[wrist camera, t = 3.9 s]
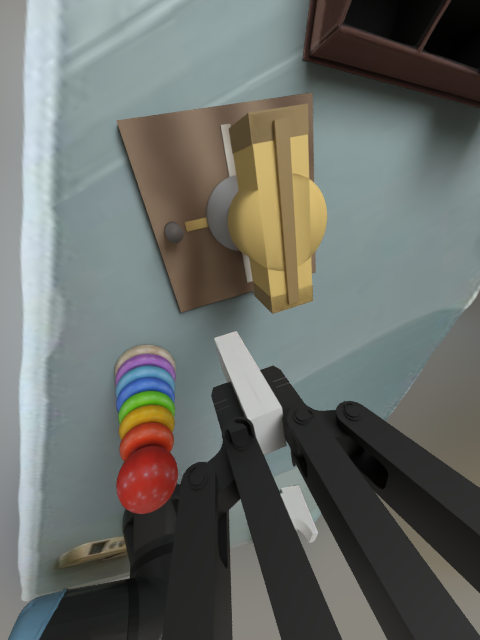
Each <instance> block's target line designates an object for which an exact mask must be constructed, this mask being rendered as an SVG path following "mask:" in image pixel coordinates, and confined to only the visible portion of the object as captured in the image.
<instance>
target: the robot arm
mask: <svg viewBox="0 0 480 640" xmlns="http://www.w3.org/2000/svg"><path fill="white" fill-rule="evenodd" d="M214 340H215V343H216V347H217V351H218V354H219V358H220V362H221V365H222V369H223V372H224V374H225V377H226V380H227V382H228V383H225V384H222V385H219V386H216V387H214V388H213V390H212V395H211V397H212V400H213V403H214V407H215V410H216V414H217V417H218V421H219V424H220V428H221V431H222V438H223V444H222V447H221V449H220V451H219V452H218V453H217V454H216V455H215V456H214V457H213V458H212V459H211V460H210V461H208V462H207V463H206V462H198V463H195V464H193V465H192V466H190V467H189V468H188V469H187V470H186V472H185V473H184V475H183V478H182V481H181V485H176V487H175V489H174V492H173V494H172V495H171V497H170V498H169V499H168V501H167V502H166V503H165V504H164V505H163V506H161V507H160V508H159V509H157V510H155V511H153V512H150V513H146V514H137V513H133V512H131V511H129V510H127V509H126V511H125V513H124V516H123V535H124V540H125V544H126V548H127V552H128V557H129V561H130V579H125V580H120V581H114V582H108V583H103V584H98V585H92V586H86V587H80V588H74V589H68V588H65V589H63V590H62V591H60V592H56V593H52V594H48V595H44V596H40V597H37V598H35V599H33V600H32V601H30V603H28V604H27V605H26V606H25V607H24V609H23V610H22V611H21V613H20V614H19V616H18V618H17V620H16V622H15V625H14V627H13V629H12V631H11V634H10V636H9V638H8V640H232V609H231V573H230V537H229V509H230V508H231V507H232V506H233V505H234V504H235V503H237V502H238V501H239V500H240V499H241V502H242V505H243V509H244V512H245V516H246V519H247V522H248V526H249V529H250V533H251V536H252V540H253V543H254V547H255V550H256V554H257V557H258V560H259V564H260V567H261V571H262V574H263V578H264V581H265V585H266V588H267V592H268V595H269V598H270V602H271V605H272V609H273V612H274V616H275V619H276V623H277V626H278V630H279V633H280V636H281V640H342V638H341V636H340V634H339V632H338V629H337V627H336V624H335V622H334V620H333V617H332V615H331V612H330V610H329V608H328V605H327V603H326V601H325V599H324V596H323V594H322V591H321V589H320V587H319V584H318V582H317V579H316V577H315V575H314V572H313V570H312V568H311V566H310V563H309V561H308V558H307V556H306V554H305V551H304V549H303V547H302V544H301V542H300V539H299V537H298V535H297V532H296V530H295V528H294V525H293V523H292V520H291V518H290V516H289V513H288V511H287V509H286V506H285V504H284V502H283V499H282V497H281V495H280V492H279V490H278V487H277V485H276V483H275V480H274V478H273V476H272V473H271V471H270V469H269V466H268V464H267V462H266V459H265V457H264V455H266V454H268V453H270V452H273V451H275V450H277V449H280V448H282V447H285V446H287V445H286V441H287V443H288V444H289V446H290V448H291V457H292V463H293V466H296V465H297V467H298V469H299V471H300V473H301V475H302V477H303V478H304V480H305V482H306V484H307V486H308V488H309V490H310V492H311V494H312V496H313V498H314V500H315V501H316V503H317V505H318V507H319V509H320V511H321V513H322V515H323V517H324V519H325V521H326V522H327V524H328V526H329V528H330V530H331V532H332V534H333V536H334V538H335V540H336V542H337V543H338V546H339V548H340V549H341V551H342V553H343V555H344V557H345V559H346V561H347V563H348V565H349V567H350V568H351V571H352V572H353V574H354V576H355V578H356V580H357V582H358V584H359V586H360V588H361V590H362V592H363V594H364V595H365V597H366V599H367V601H368V603H369V605H370V607H371V609H372V611H373V613H374V615H375V617H376V619H377V620H378V622H379V624H380V626H381V628H382V630H383V632H384V634H385V636H386V638H387V640H480V635H479V634H478V633H477V632H476V630H475V629H474V627H473V626H472V625H471V623H470V622H469V621H468V619H467V618H466V616H465V615H464V614H463V612H462V611H461V610H460V608H459V607H458V605H457V604H456V603H455V602H454V600H453V599H452V597H451V596H450V595H449V593H448V592H447V590H446V589H445V588H444V587H443V585H442V584H441V582H440V581H439V579H438V578H437V577H436V575H435V574H434V573H433V571H432V570H431V569H430V567H429V566H428V565H427V563H426V562H425V560H424V559H423V558H422V557H421V555H420V554H419V552H418V551H417V549H416V548H415V547H414V545H413V544H412V543H411V541H410V540H409V539H408V537H407V536H406V535H405V533H404V532H403V530H402V529H401V528H400V526H399V525H398V523H397V522H396V521H395V519H394V518H393V517H392V516H391V514H390V513H389V511H388V510H387V508H386V507H385V506H384V504H383V503H382V502H381V500H380V499H379V498H378V496H377V495H376V493H377V494H378V495H379V496H380V497H381V498H382V499H383V500H384V501H385V502H386V503H387V504H388V505H389V506H390V507H391V508H392V509H393V510H394V511H395V512H396V513H398V514H399V516H401V517H402V518H403V519H404V520H405V521H406V522H407V523H408V524H409V525H410V526H411V527H412V528H413V529H414V530H415V531H416V532H417V533H418V534H419V535H420V536H421V537H422V538H423V539H424V540H425V541H426V542H427V543H429V544H430V545H431V546H432V547H433V548H434V549H435V550H436V551H437V552H438V553H439V554H440V555H441V556H442V557H443V558H444V559H445V560H446V561H447V562H448V563H449V564H450V565H451V566H452V567H453V568H454V569H456V571H458V573H460V574H461V575H462V576H463V577H464V578H465V579H466V580H467V581H468V582H469V583H470V584H471V585H472V586H473V587H474V588H475V589H476V590H477V591H478V592H479V593H480V488H479V487H478V486H476V485H475V484H473V483H472V482H471V481H469V480H468V479H466V478H465V477H463V476H462V475H461V474H459V473H458V472H456V471H455V470H453V469H452V468H450V467H449V466H448V465H446V464H445V463H444V462H442V461H441V460H439V459H438V458H436V457H435V456H434V455H432V454H431V453H429V452H428V451H427V450H425V449H424V448H422V447H421V446H419V445H418V444H417V443H415V442H414V441H412V440H411V439H409V438H408V437H407V436H405V435H404V434H403V433H401V432H400V431H398V430H397V429H395V428H394V427H393V426H391V425H390V424H388V423H387V422H386V421H384V420H383V419H381V418H380V417H378V416H377V415H376V414H374V413H373V412H371V411H370V410H369V409H367V408H366V407H364V406H363V405H361V404H359V403H357V402H353V401H344V402H342V403H340V404H339V405H338V406H337V408H336V410H329V411H318V410H314V409H312V408H310V407H308V406H307V405H306V404H305V403H304V402H303V401H302V399H301V398H300V396H299V395H298V394H297V392H296V391H295V389H294V388H293V387H292V385H291V384H290V383H289V381H288V380H287V378H286V377H285V375H284V374H283V373H282V371H281V370H280V369H278V368H276V367H275V366H271V367H268V368H265V369H262V370H259V368H258V366H257V365H256V363H255V361H254V360H253V358H252V356H251V355H250V353H249V351H248V350H247V348H246V346H245V345H244V343H243V341H242V339H241V338H240V336H239V334H238V333H237V331H235V332H232V333H228V334H225V335H222V336H219V337H216V338H214ZM295 463H296V464H295ZM373 490H374V491H375V492H376V493H375V492H374V491H373Z"/></svg>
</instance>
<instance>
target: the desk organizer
mask: <svg viewBox="0 0 480 640" xmlns="http://www.w3.org/2000/svg"><path fill="white" fill-rule="evenodd" d="M302 60H305V61H309V62H312V63H316V64H320V65H324V66H327V67H331V68H334V69H338V70H342V71H345V72H349V73H353V74H357V75H360V76H364V77H368V78H372V79H375V80H379V81H382V82H386V83H390V84H394V85H397V86H401V87H405V88H408V89H412V90H416V91H419V92H423V93H427V94H430V95H434V96H438V97H441V98H445V99H448V100H452V101H456V102H460V103H464V104H467V105H470V106H474V107H478V108H480V0H310V5H309V13H308V21H307V29H306V37H305V45H304V52H303V59H302Z"/></svg>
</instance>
